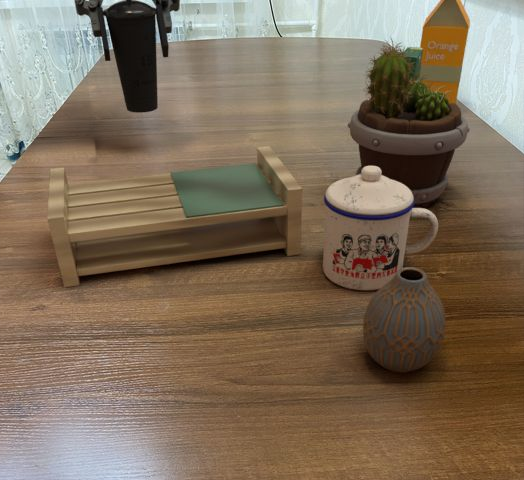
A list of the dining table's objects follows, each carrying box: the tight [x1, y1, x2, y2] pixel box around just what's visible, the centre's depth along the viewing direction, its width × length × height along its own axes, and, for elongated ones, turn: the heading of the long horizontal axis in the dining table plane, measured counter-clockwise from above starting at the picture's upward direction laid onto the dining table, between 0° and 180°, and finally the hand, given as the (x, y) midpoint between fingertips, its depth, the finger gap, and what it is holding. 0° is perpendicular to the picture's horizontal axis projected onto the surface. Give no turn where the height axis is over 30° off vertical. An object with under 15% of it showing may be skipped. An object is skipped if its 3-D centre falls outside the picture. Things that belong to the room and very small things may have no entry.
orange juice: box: [419, 0, 471, 105], centre depth 108 cm, size 8×9×20 cm
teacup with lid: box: [322, 166, 439, 291], centre depth 63 cm, size 12×9×12 cm
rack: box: [46, 145, 303, 288], centre depth 71 cm, size 14×27×8 cm, turn 104°
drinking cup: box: [103, 0, 159, 114], centre depth 89 cm, size 8×8×20 cm
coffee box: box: [402, 46, 423, 81], centre depth 99 cm, size 8×3×13 cm, turn 160°
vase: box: [362, 266, 447, 373], centre depth 52 cm, size 7×7×9 cm
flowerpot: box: [347, 36, 470, 209], centre depth 77 cm, size 14×15×20 cm
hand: (136, 53), depth 88 cm, fingers closed on drinking cup, 8 cm apart
